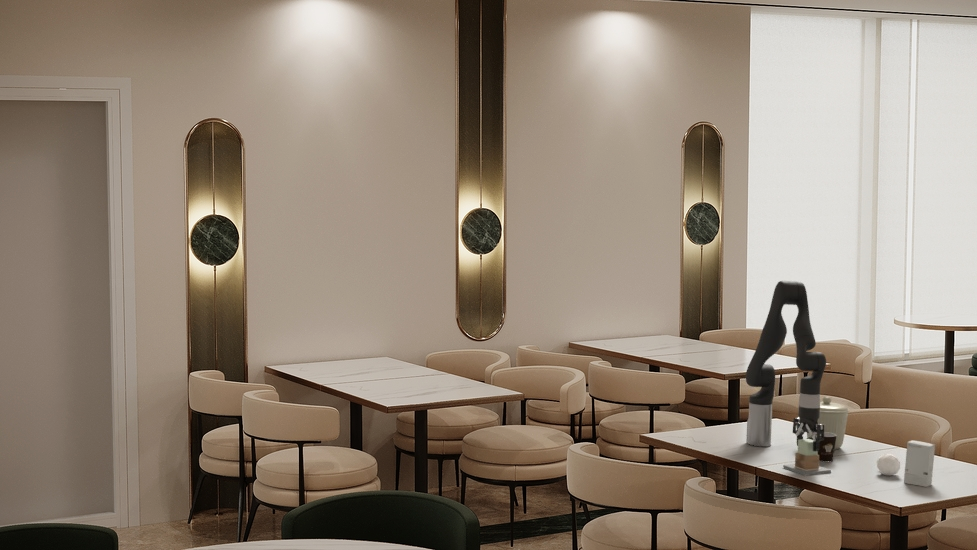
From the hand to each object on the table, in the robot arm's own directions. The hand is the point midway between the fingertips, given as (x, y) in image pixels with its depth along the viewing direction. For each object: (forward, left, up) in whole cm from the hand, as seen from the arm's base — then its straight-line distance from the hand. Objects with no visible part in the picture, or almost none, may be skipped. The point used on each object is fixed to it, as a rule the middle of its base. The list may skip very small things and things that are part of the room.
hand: (807, 448), depth 376 cm
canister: (-28, +34, -8) cm, 45 cm away
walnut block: (0, 0, -7) cm, 7 cm away
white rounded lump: (+14, +25, -8) cm, 30 cm away
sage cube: (0, 0, -2) cm, 2 cm away
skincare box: (+29, +25, -8) cm, 39 cm away
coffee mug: (-12, +17, -8) cm, 22 cm away
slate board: (0, 0, -8) cm, 8 cm away
